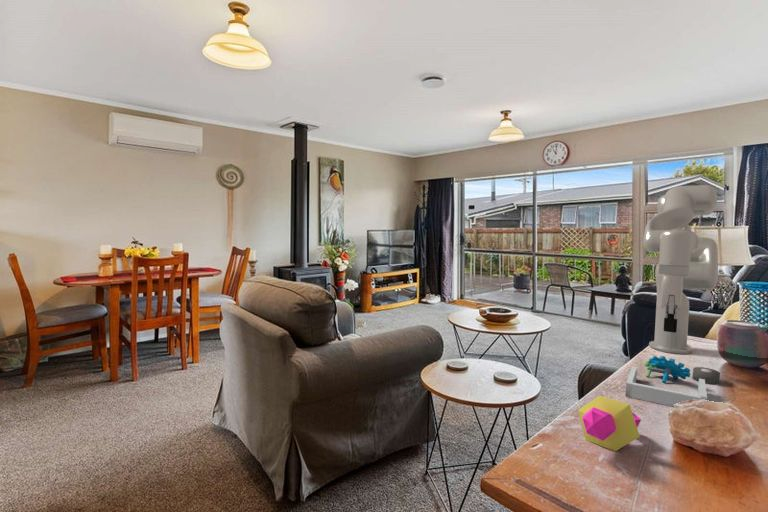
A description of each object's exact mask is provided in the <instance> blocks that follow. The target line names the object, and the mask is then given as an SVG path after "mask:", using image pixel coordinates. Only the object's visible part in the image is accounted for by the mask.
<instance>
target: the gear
mask: <svg viewBox="0 0 768 512" xmlns="http://www.w3.org/2000/svg"><path fill="white" fill-rule="evenodd" d="M644 367H647V368H646V369H647V370H648V371H647V374H646V378H650V376H651V374H652V373H657V374H663V377H662V379H661V382H662V383H663V384H667V381H668V378H669V375H670V376H671V377H672V378H673V379H675V380H676V379H682V380H686V378H690V377H691V373H690V372H691V369H689V367H685V363H683V362H678V363H677V364H676V359H674V358H671V357H669V359H667V358H666V356H663V355H660V356H659V357H658V356H657V355H653V356H652V358H651V357H649V359H648V360H646V361H645V363H644Z"/></svg>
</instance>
